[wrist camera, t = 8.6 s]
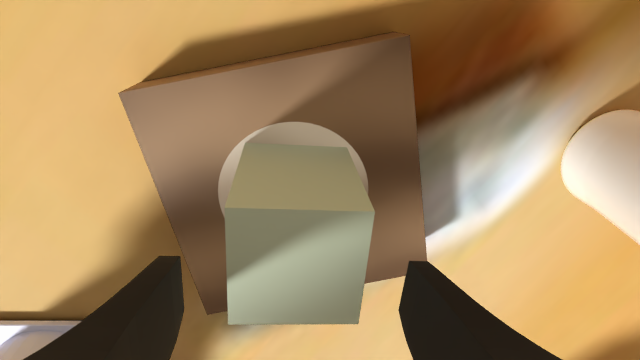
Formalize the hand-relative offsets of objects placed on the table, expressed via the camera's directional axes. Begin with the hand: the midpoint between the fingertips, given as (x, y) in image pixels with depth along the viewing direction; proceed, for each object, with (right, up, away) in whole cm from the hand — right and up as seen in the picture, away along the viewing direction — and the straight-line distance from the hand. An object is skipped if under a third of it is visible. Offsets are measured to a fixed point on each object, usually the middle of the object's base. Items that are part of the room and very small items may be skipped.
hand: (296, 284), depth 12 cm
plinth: (-1, +4, +8) cm, 9 cm away
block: (0, +3, +6) cm, 6 cm away
